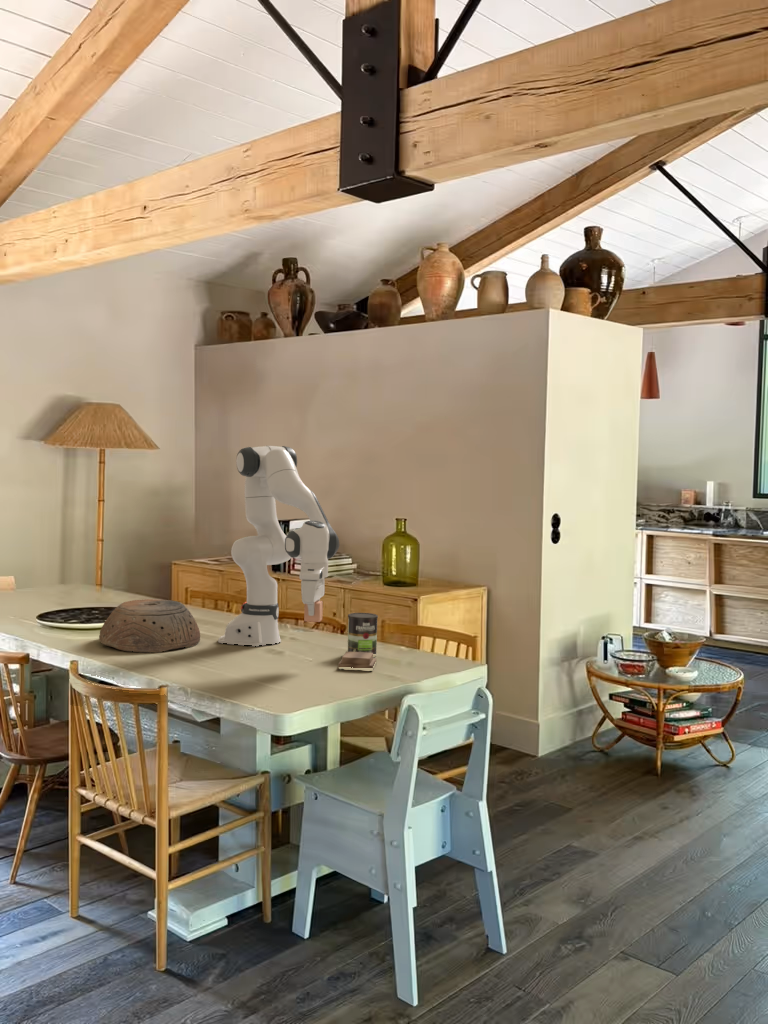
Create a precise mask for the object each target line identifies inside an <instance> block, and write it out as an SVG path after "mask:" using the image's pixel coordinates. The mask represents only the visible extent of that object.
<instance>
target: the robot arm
mask: <svg viewBox="0 0 768 1024" xmlns="http://www.w3.org/2000/svg"><path fill="white" fill-rule="evenodd" d="M236 454H237V455H236V460H235V462H236V470H237V471H238V473H239V474H240V475H241V476H243V477H245V479H244V508H245V509H244V510H245V518H246V520H247V522H248V523H249V524H250V525H252V526H253V527H254V529H255V530H256V533H257V535H249V536H245V537H241V538H239V539H236V540H235V541H234V542H233V544H232V546H231V552H230V553H231V558H232V560H233V561H234V563H235V564H236V565H237V566H239V567H240V569H241V571H242V572H243V576H244V579H245V582H246V601H245V602H243V603H242V604H241V606H240V610H241V613H240V614H238V615H237V616H235V617H234V618H233V619H232V620H230V621H229V622H228V623H227V625H226V627H225V630H224V634H223V635H221V636H220V637H218V641H217V642H218V643H219V644H223V643H227V645H234V644H238V645H237V646H244V645H252V646H251V647H255V646H256V647H260V646H259V645H262V646H267V645H266V644H272V645H276V644H275V643H277V644H279V642H280V643H281V642H282V639H281V637H280V630H279V623H278V622H279V621H278V619H279V609H280V608H279V603H278V581H277V580H276V579H275V578H274V577H272V576H271V575H270V573H269V571H268V566H272V565H280V564H283V563H285V562H288V561H289V560H291V558H293V559H299V560H300V559H301V561H300V572H299V578H298V579H299V580H301V582H300V587H301V591H300V592H301V601H302V603H303V604H304V605H305V604H307V606H308V615H309V616H313V615H314V614H315V610H314V605H315V602H316V601H321V598H322V597H324V595H325V589H326V587H325V583H326V582H325V578H328V577H329V559H332V558H333V557H334V556H335V555H336V554H337V553H338V551H339V549H340V539H339V536H338V534H337V533H336V531H335V530H334V529H333V527H332V526H331V524H330V522H329V520H328V518H327V516H326V514H325V511H324V510H323V508H322V505H321V504H320V502H319V500H318V498H317V495H315V494H316V493H314V492H313V490H312V489H310V488H308V487H307V486H306V485H305V483H304V482H303V481H302V479H301V477H300V474H299V471H298V468H297V466H298V457H297V453H296V451H295V450H294V449H293V448H292V447H290V446H285V445H282V446H278V445H277V446H276V445H263V446H254V447H253V446H252V447H251V446H248V447H247V446H246V447H244V448H241V449H239V451H238V453H236ZM276 501H277V502H279V503H281V504H285V505H287V506H291V507H294V508H297V509H299V510H301V511H303V512H304V513H305V514H306V516H307V517H308V519H309V520H307V521H304V522H303V524H302V526H300V527H299V528H297V529H293V530H291V531H290V532H288V534H287V535H286V534H285V533H284V531H283V530H282V529H283V528H282V527H281V525H280V523H279V519H278V514H277V503H276Z"/></svg>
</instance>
